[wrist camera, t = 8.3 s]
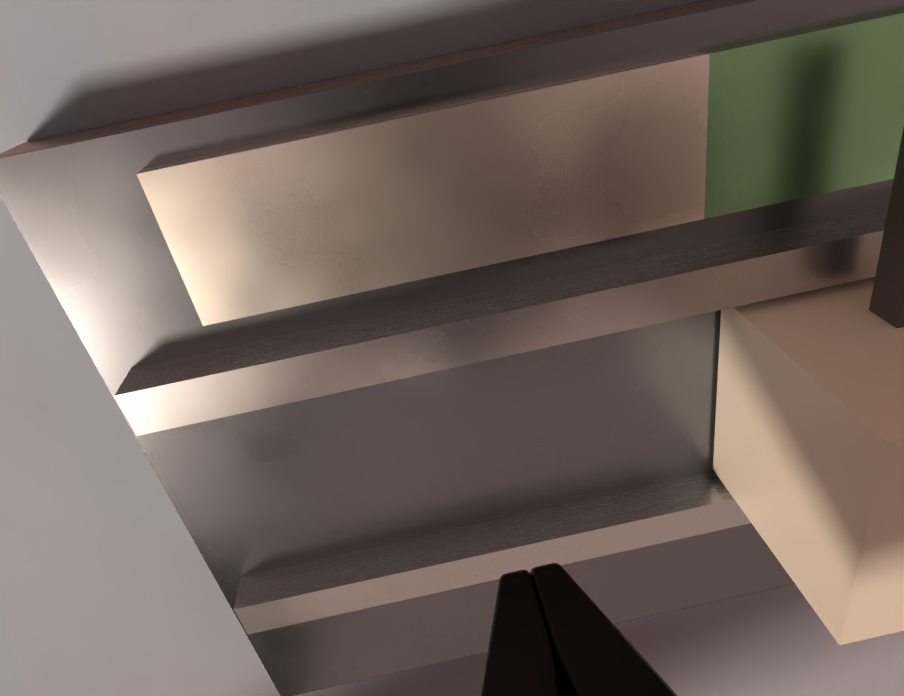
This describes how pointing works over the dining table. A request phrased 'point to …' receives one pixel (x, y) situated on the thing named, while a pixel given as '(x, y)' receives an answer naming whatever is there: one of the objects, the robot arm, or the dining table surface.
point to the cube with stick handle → (824, 435)
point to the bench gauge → (468, 311)
